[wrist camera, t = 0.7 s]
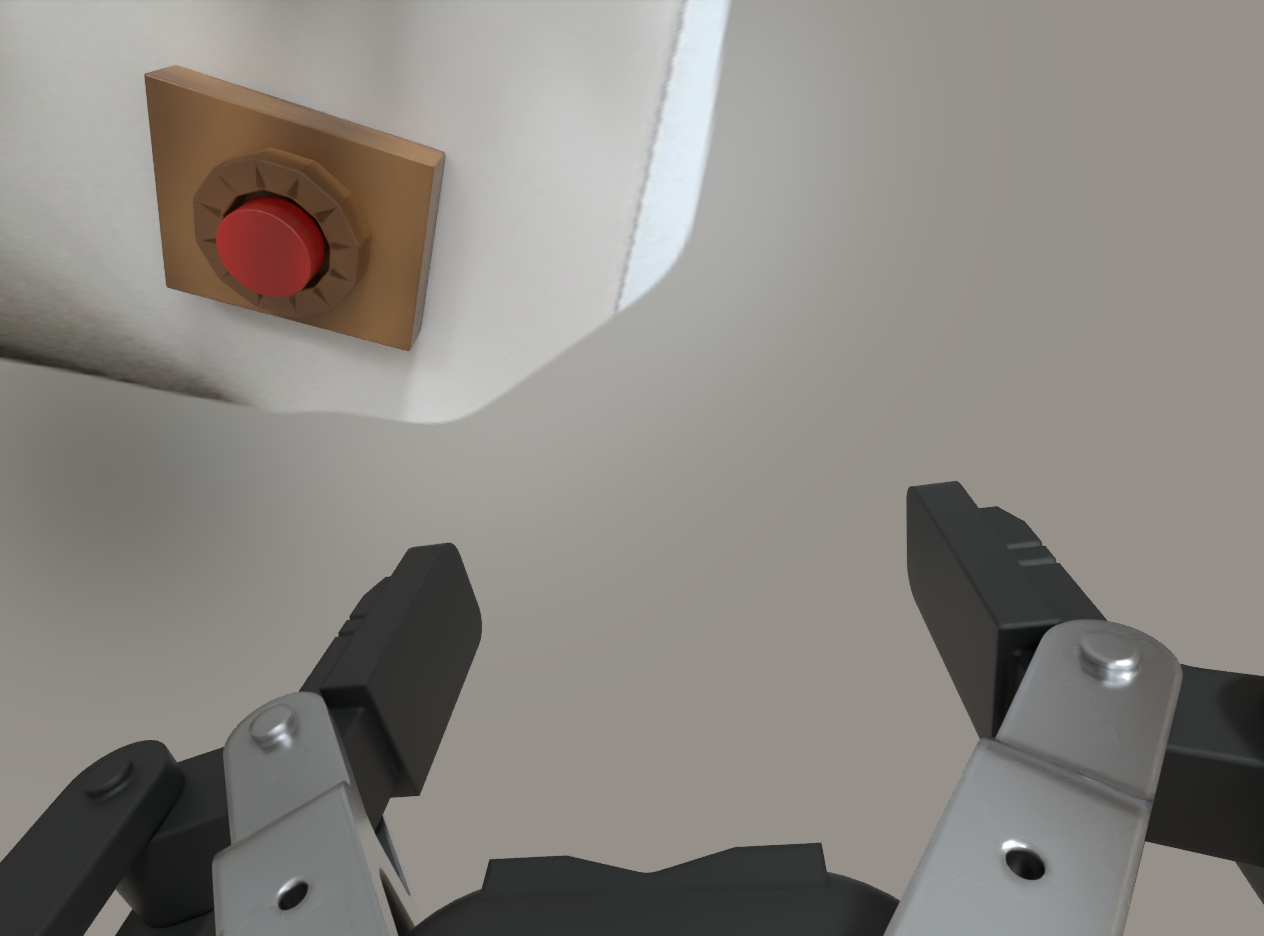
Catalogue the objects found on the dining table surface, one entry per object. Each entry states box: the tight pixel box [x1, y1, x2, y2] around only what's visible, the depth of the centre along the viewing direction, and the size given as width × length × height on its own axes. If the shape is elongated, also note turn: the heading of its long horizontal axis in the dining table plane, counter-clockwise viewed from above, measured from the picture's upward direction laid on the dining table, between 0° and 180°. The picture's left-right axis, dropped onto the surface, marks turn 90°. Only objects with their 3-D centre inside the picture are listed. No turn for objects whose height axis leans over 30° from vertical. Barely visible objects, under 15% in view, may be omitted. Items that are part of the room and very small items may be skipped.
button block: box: [145, 65, 445, 351], centre depth 30 cm, size 11×9×4 cm
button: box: [216, 196, 325, 297], centre depth 28 cm, size 4×4×2 cm
